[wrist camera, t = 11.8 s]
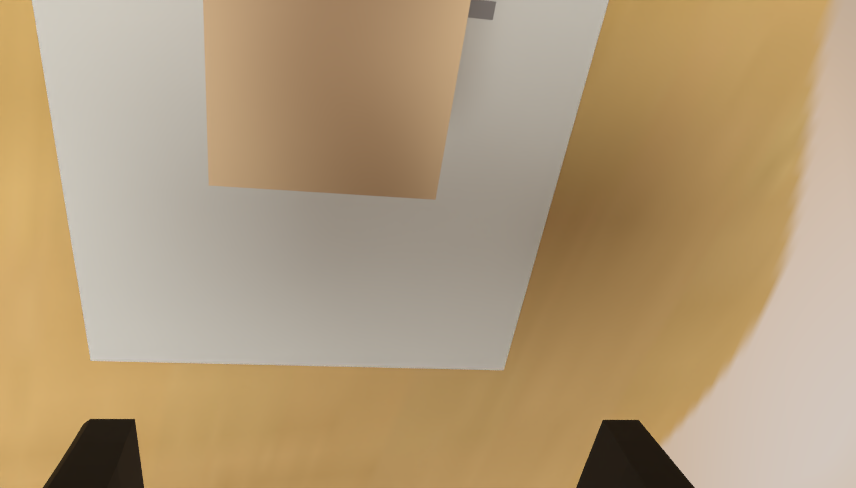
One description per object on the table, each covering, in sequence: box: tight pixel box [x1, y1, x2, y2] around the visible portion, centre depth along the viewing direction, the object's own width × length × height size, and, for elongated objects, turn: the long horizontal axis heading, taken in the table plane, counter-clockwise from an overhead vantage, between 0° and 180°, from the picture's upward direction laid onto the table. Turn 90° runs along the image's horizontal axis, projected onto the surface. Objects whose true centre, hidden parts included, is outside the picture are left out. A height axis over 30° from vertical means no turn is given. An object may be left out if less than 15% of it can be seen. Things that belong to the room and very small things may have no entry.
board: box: [32, 0, 609, 370], centre depth 17 cm, size 12×18×1 cm, turn 171°
